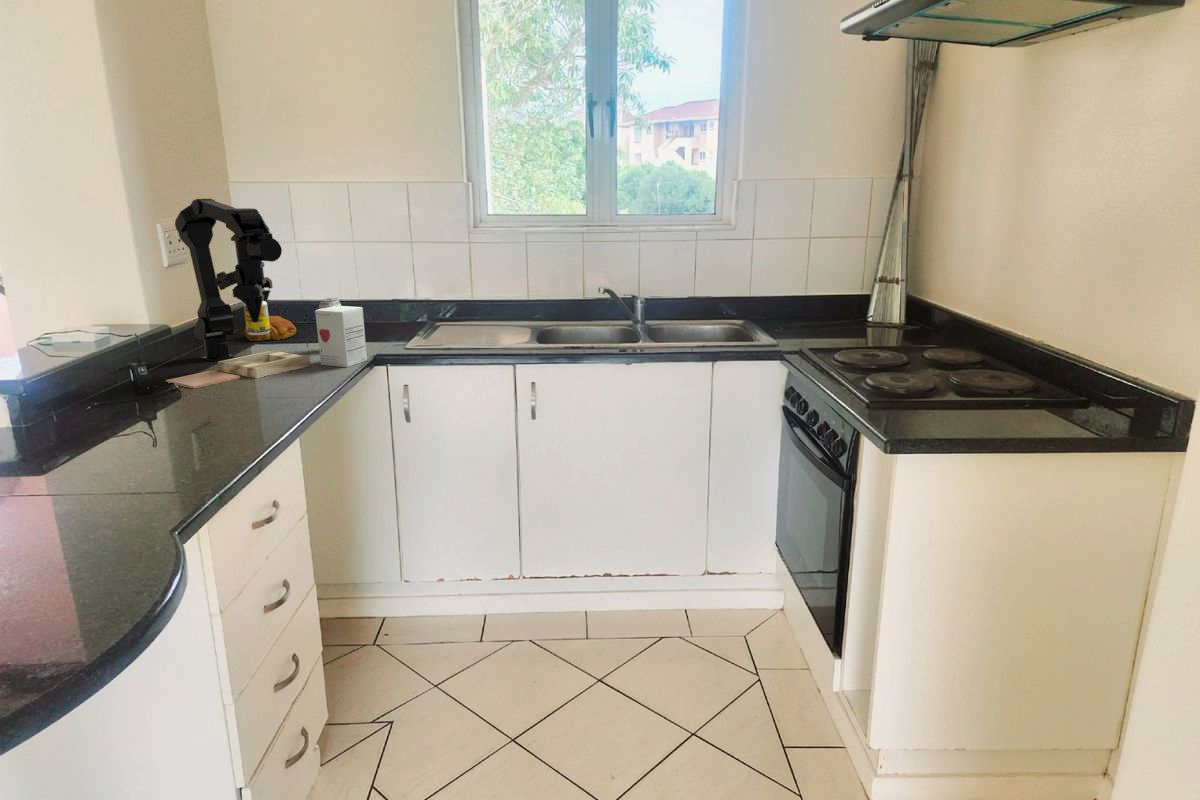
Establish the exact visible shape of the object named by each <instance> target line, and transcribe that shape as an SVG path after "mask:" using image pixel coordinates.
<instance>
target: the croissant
mask: <svg viewBox="0 0 1200 800" xmlns="http://www.w3.org/2000/svg"><path fill="white" fill-rule="evenodd" d="M269 324H270V332H269V333H268V334H263V335H250V334H248V333H247V326H246V325H245V326H244V328H243V330H244V336H245V337H246V339H248V340H249V341H252V342H266V341H265V340H277V341H281V340H280V339H283V340H286V339H285V338H287V339H289V338H288V337H291V336H292V337H294V336H295V334H296V333H297V328H296V326H295V325H294V324H293V323H292V322H291V321H290V320H288V319H286V318H283V317H282V316H280V315H269ZM293 335H294V336H293ZM292 337H291V338H292Z"/></svg>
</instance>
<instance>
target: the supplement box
mask: <svg viewBox="0 0 1200 800" xmlns="http://www.w3.org/2000/svg"><path fill="white" fill-rule="evenodd" d="M363 310H364V307H362V306H349V305H341V306H332V307H328V308H323V309H319V308H318V309H315V310H314V315H315V322H316V331H317V341H318V349H319V350H318V351H319V360H320V365H321V366H329V367H330V366H332V367H343V368H350V367H352V366H356V365H358V364H361V363H364V362H366V361H368V357H367V345H366V334H365V323H364V321H365V320H364V311H363Z"/></svg>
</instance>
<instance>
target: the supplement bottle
mask: <svg viewBox="0 0 1200 800" xmlns="http://www.w3.org/2000/svg"><path fill="white" fill-rule="evenodd" d="M243 310H244V317H245V326H247V333H248V334H250V335H263V334H268V333H269V332H270V324H269V316H270V315H269V309H268V301H267V302H265V301H263V302H262V306H261V311H260V315H259V319H258V322H253V321H252V319H251V316H250V314H249V311H248V309H247V307H246V305H245V303H244V302H243Z"/></svg>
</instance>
